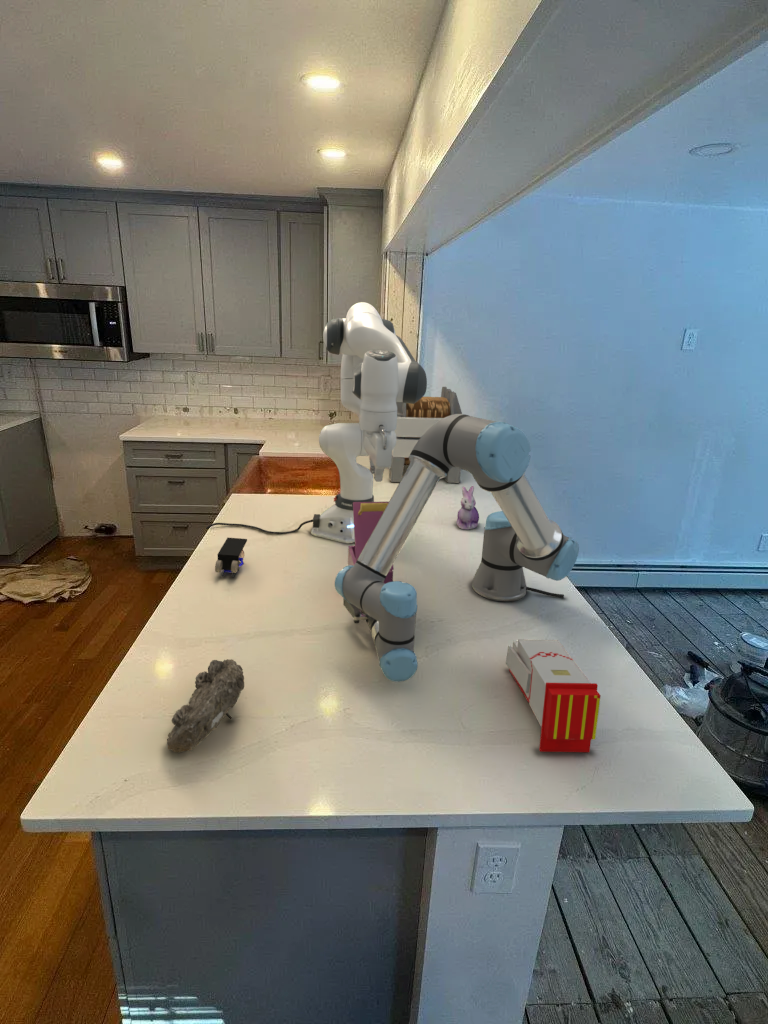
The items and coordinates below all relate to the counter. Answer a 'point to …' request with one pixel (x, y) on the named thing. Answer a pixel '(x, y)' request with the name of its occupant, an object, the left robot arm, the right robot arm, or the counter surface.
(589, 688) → the toy
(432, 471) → the right robot arm
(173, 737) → the fossil
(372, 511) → the lid
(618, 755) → the counter surface
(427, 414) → the transformer
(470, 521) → the figurine
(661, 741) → the counter surface
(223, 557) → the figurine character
